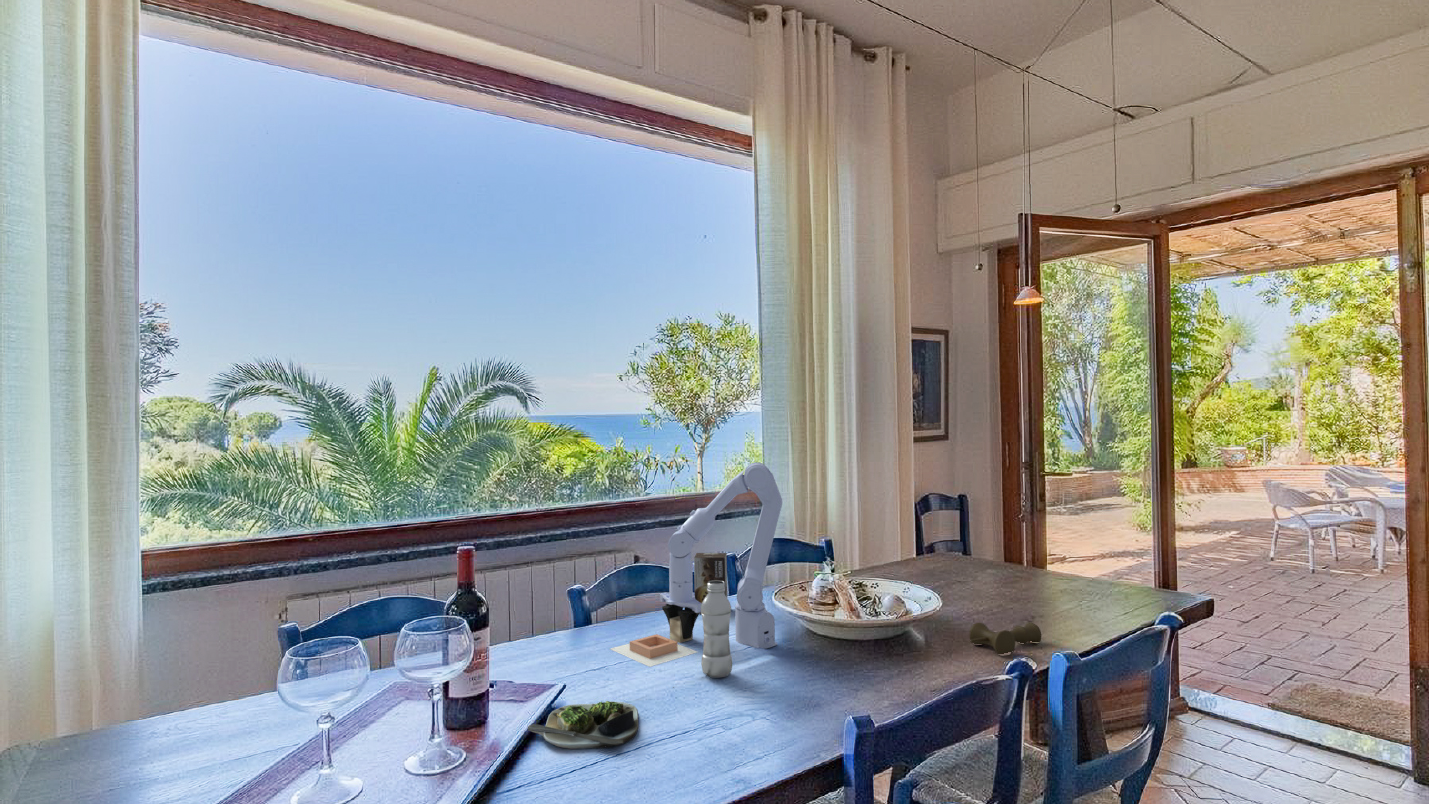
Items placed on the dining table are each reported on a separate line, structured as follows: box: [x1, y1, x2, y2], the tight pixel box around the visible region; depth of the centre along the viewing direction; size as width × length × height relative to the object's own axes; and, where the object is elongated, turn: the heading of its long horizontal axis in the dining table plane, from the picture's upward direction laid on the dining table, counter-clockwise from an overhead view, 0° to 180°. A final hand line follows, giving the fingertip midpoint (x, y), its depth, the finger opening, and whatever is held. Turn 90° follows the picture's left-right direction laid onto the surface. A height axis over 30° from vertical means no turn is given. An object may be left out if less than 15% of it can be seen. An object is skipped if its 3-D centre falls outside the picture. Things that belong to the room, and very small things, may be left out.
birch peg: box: [669, 616, 694, 644], centre depth 171 cm, size 4×4×6 cm
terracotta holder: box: [629, 633, 678, 659], centre depth 163 cm, size 8×8×2 cm
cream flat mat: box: [609, 642, 698, 668], centre depth 163 cm, size 16×14×1 cm
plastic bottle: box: [701, 581, 734, 679], centre depth 149 cm, size 6×7×20 cm
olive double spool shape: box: [968, 622, 1042, 655], centre depth 166 cm, size 6×10×20 cm
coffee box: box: [693, 552, 728, 615], centre depth 199 cm, size 9×6×16 cm
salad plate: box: [527, 700, 639, 750], centre depth 124 cm, size 19×18×5 cm
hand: (681, 636), depth 171 cm, fingers closed on birch peg, 4 cm apart
